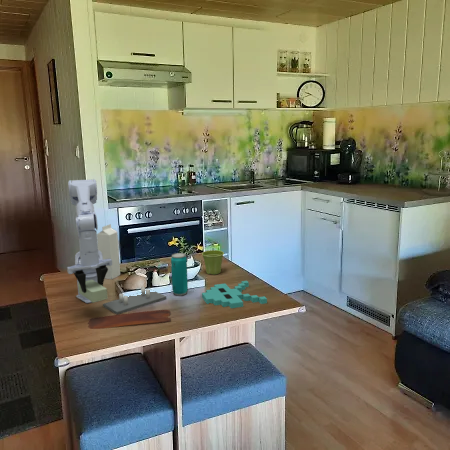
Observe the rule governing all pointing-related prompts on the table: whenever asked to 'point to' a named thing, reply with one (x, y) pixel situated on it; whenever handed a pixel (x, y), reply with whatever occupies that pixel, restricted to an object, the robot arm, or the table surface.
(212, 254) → the plant pot
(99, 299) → the pale green block
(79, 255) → the robot arm
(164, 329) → the table surface
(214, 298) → the alien figure
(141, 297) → the peg rack
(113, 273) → the milk
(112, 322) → the wooden tablet
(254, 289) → the table surface
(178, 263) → the beverage can
